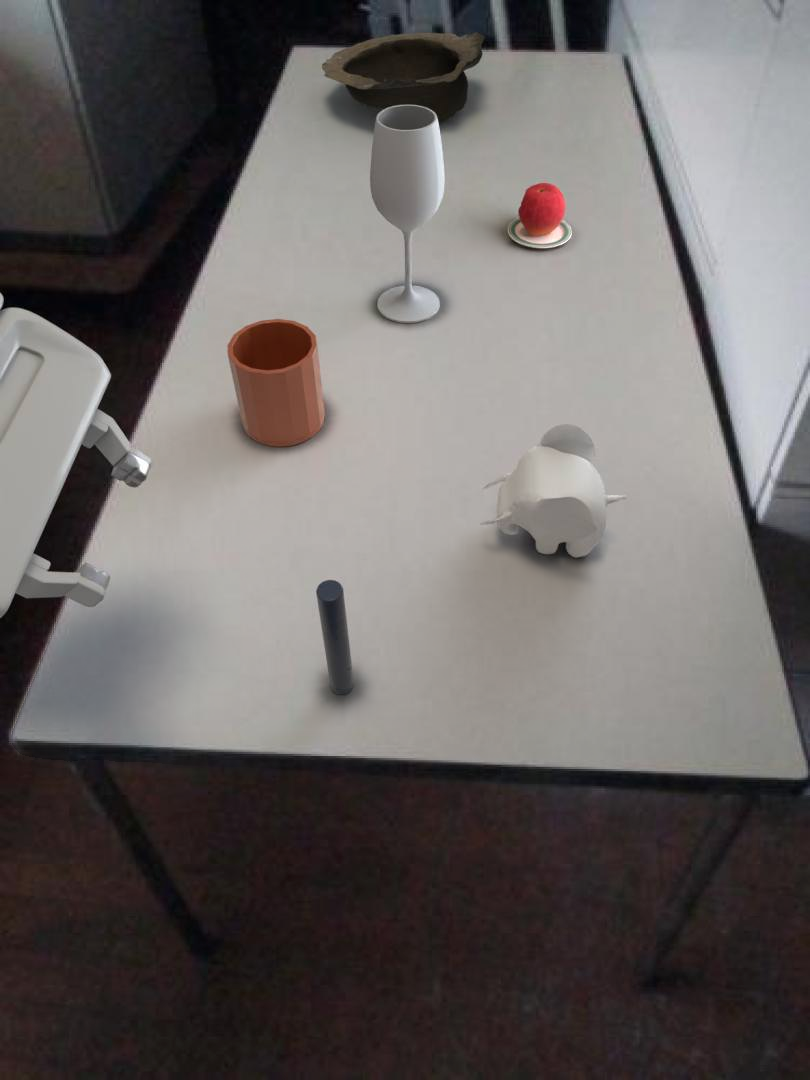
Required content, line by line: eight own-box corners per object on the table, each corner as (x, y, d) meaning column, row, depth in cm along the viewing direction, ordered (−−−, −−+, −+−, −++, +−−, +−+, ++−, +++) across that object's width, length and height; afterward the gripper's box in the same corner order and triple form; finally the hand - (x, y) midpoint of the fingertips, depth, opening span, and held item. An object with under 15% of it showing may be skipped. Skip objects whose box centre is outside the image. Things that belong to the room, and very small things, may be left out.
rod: (337, 698, 65) (324, 605, 56) (326, 681, 66) (311, 586, 57) (358, 687, 65) (348, 593, 56) (346, 670, 66) (335, 575, 57)
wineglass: (401, 279, 102) (397, 94, 86) (454, 300, 99) (461, 113, 83) (362, 309, 98) (351, 122, 82) (416, 332, 95) (416, 142, 79)
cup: (264, 458, 82) (250, 384, 75) (229, 410, 87) (213, 337, 80) (339, 427, 85) (332, 353, 78) (301, 382, 89) (291, 309, 82)
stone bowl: (491, 137, 125) (490, 70, 118) (322, 151, 127) (312, 86, 120) (482, 67, 141) (481, 4, 134) (333, 81, 143) (324, 20, 136)
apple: (523, 256, 105) (528, 206, 100) (497, 224, 110) (501, 175, 105) (582, 244, 106) (590, 194, 101) (554, 213, 111) (560, 164, 106)
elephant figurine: (482, 487, 79) (488, 413, 72) (613, 497, 78) (632, 423, 71) (475, 566, 73) (481, 494, 66) (618, 578, 72) (638, 507, 65)
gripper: (-191, 524, 36) (100, 658, 43) (-11, 259, 50) (190, 395, 56) (-230, 583, 40) (44, 698, 47) (-53, 322, 53) (141, 442, 60)
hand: (125, 530), depth 52 cm, fingers open, 8 cm apart
